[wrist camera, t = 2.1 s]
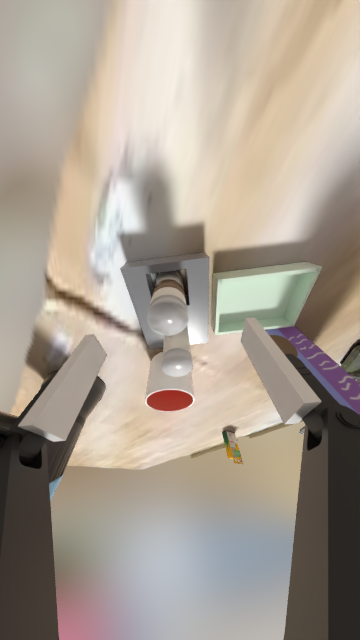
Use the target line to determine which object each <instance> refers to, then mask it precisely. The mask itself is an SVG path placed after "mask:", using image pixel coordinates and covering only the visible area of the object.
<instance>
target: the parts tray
mask: <svg viewBox="0 0 360 640" xmlns="http://www.w3.org/2000/svg"><path fill="white" fill-rule="evenodd" d="M321 269H322V267H321V266H318V265H315V264H312V263H309V262H299V263H291V264H283V265H275V266H267V267H259V268H251V269H243V270H235V271H227V272H219V273H213V290H212V324H211V326H212V328H213V331H214V334H215V335H222V334H231V333H240V332H243V328H244V323H245V318H253V317H255V318H256V319H257V321H258V322H259V323H260V324H261V326H262V327H263V328H264V330H266V329H275V328H284V327H293V326H294V325H295V323H296V321H297V319H298V317H299V315H300V313H301V311H302V308H303V306H304V304H305V302H306V300H307V298H308V296H309V294H310V292H311V290H312V288H313V286H314V283H315V281H316V279H317V277H318V275H319V273H320V271H321Z"/></svg>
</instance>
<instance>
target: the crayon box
mask: <svg viewBox="0 0 360 640" xmlns="http://www.w3.org/2000/svg"><path fill="white" fill-rule="evenodd" d="M222 434H223V438H224V442H225V447H226V451H227V456H228V458H229V459H234V463H238V464H243V462H242V458H241V455H240V451H239V448H238V444H237V441H236V437H235V434H234V433H231V432H228V431H225V432H222ZM236 460H240V462H237V461H236Z"/></svg>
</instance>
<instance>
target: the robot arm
mask: <svg viewBox="0 0 360 640" xmlns="http://www.w3.org/2000/svg"><path fill="white" fill-rule="evenodd" d="M241 343H242V345H243V347H244V349H245V351H246V352H247V354H248V356H249V358H250V360H251V362H252V364H253V366H254V368H255V370H256V371H257V373H258V375H259V377H260V379H261V381H262V383H263V385H264V387H265V388H266V390H267V392H268V394H269V396H270V398H271V400H272V402H273V404H274V406H275V407H276V409H277V411H278V413H279V415H280V417H281V419H282V421H283V423H284V424H294V423H299V422H300V421H301V420H302V419H303V421H304V422H305V424H306V425H305V426H304V427H303V428H302V429H301V430H300V432H299V433H301V434H302V433H304V441H303V452H302V462H301V473H300V483H299V493H298V503H297V513H296V525H295V534H294V544H293V554H292V565H291V576H290V586H289V595H288V606H287V616H286V627H285V635H284V640H360V415H359V414H357V413H356V412H355V411H353V410H352V409H350V408H348V407H346V406H343V405H341V404H339V403H338V402H337V401H336V400H335V399H334V398H333V396H332V395H331V394H330V393H329V392H328V391H327V390H326V388H325V387H324V386H323V385H322V384H321V383H320V382H319V380H318V379H317V378H316V377H315V376H314V375H312V372H311V371H310V370H309V369H307V367H306V366H305V364H304V363H303V362H302V361H301V360H300V359H299V358H297V357H296V356H294V355H293V354H284V353H283V352H282V351H281V350H280V348H279V347H278V346H277V345H276V343H275V342H274V341H273V340H272V338H271V337H270V336H269V335H268V333H267V332H266V331H265V330H264V328H263V327H262V326H261V324H260V323H259V322H258V321H257V319H256V318H255V317H253V318H245V323H244V328H243V333H242V337H241ZM106 356H107V354H106V352H105V351H104V349H103V348H102V346H101V344H100V343H99V341H98V340H97V338H96V337H95V335H94V334H92V335H85V337H84V338H83V339H82V341H81V342H80V343H79V345H78V346H77V347H76V349H75V350H74V351H73V353H72V354H71V355H70V357H69V358H68V359H67V361H66V362H65V363H64V365H63V366H62V367H61V369H60V370H57V371H54V372H52V373H50V374H49V375H48V376H47V378H46V379H45V380H44V382H43V383H42V386H41V389H40V390H39V392H38V393H37V394H36V395H35V397H34V398H33V400H32V401H31V402H30V403H29V404H28V406H27V407H26V408H25V410H24V411H23V412H22V413H21V415H20V416H19V417H17V416H14V415H11V414H7V413H4V412H1V411H0V640H59V636H58V620H57V604H56V587H55V571H54V555H53V539H52V523H51V507H50V501H51V499H52V497H53V495H54V493H55V491H56V489H57V486H58V484H59V482H60V480H61V479H62V477H63V473H64V471H65V468H66V466H67V464H68V461H69V459H70V456H71V454H72V452H73V449H74V447H75V444H76V442H77V440H78V437H79V435H80V433H81V430H82V428H83V425H84V423H85V421H86V419H87V417H88V416H89V414H90V413H91V412H92V410H93V409H94V408H95V406H96V405H97V403H98V402H99V401H100V400H101V398H102V397H103V394H104V392H105V389H106V387H105V384H104V383H103V381H102V380H100V379H99V378H98V377H97V375H98V373H99V370H100V368H101V366H102V364H103V362H104V360H105V358H106Z"/></svg>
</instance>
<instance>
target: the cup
mask: <svg viewBox="0 0 360 640" xmlns="http://www.w3.org/2000/svg"><path fill="white" fill-rule="evenodd" d="M162 357H163V351H162V352H160V353H158V354H156V355H155V356H154V357H153V359H152V360H151V363H150V370H149V377H148V383H147V390H146V397H145V402H146V404H147V406H149V407H150V408H152V409H154V410H158V411H164V412H173V411H179V410H183V409H186V408H188V407H189V406H191V405H192V404H193V402H194V399H195V398H194V390H193V382H192V374H191V372H190V373H188V374H187V375H184V376H179V377H174V376H169V375H167V374H165V373H164V372H163V371H162Z"/></svg>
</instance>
